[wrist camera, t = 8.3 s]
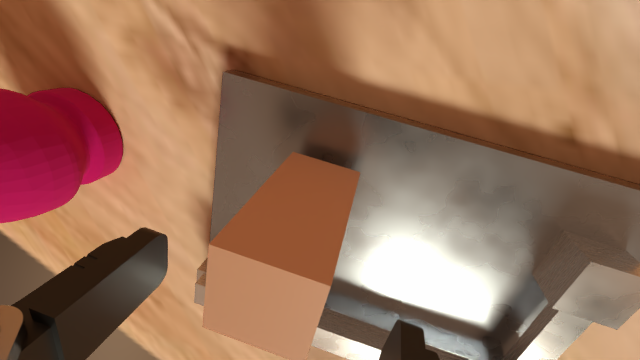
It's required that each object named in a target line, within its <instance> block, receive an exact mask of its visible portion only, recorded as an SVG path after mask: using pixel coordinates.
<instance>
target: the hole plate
mask: <svg viewBox="0 0 640 360" xmlns="http://www.w3.org/2000/svg"><path fill="white" fill-rule="evenodd" d="M292 152H296V153H299V154H302V155H305V156H309V157H312V158H315V159H319V160H322V161H325V162H328V163H332V164H335V165H338V166H341V167H345V168H348V169H351V170H355V171H358V172H360V176H359V180H358V184H357V188H356V192H355V195H354V199H353V203H352V207H351V211H350V215H349V219H348V223H347V227H346V230H345V234H344V238H343V242H342V246H341V250H340V254H339V258H338V261H337V265H336V269H335V273H334V277H333V281H332V285H331V288H330V291H329V294H328V297H327V300H326V303H325V306H324V309H323V312H322V315H321V318H320V320H319V323H318V326H317V329H316V332H315V335H314V338H313V341H312V344H311V346H314V347H316V348H319V349H322V350H324V351H327V352H330V353H333V354H335V355H338V356H341V357H343V358H346V359H349V360H379V357H380V353H381V350H382V348H383V346H384V344H385V342H386V340H387V338H388V336H389V334H390V332H391V330H392V328H393V326H394V324H395V322H396V321H397V320H398V319H399V320H402V321H405V322H408V323H411V324H413V325H416V326H419V327H422V328H423V330H424V337H425V348H426V349H428V350H431V351H434V352H436V353H437V354H438V357H439V359H440V360H557V359H558V358H559V356H560V355H561V354H562V353H563V352H564V351H565V350H566V349H567V348H568V347H569V346H570V345H571V344H572V343H573V342H574V341H575V340H576V339H577V338H578V337H579V336H580V335H581V334H582V333H583V332H584V330H585V329H586V328H587V327H588V326H589V325H590V324H591V323H592V322H595V323H598V324H601V325H604V326H607V327H611V328H614V329H618V328H619V327H621V326H622V325H623V324H624V323H625V322H626V321H627V320H628V319H629V318H630V317H631V316H632V315H633V314H634V313H635V312H636V311H637V310H638V309H639V308H640V185H638V184H635V183H631V182H628V181H624V180H621V179H617V178H614V177H610V176H607V175H603V174H600V173H596V172H593V171H589V170H586V169H582V168H578V167H575V166H571V165H568V164H564V163H561V162H557V161H554V160H550V159H547V158H543V157H540V156H536V155H533V154H529V153H526V152H522V151H519V150H515V149H511V148H508V147H504V146H501V145H497V144H494V143H490V142H487V141H483V140H480V139H476V138H473V137H469V136H466V135H462V134H459V133H455V132H452V131H448V130H445V129H441V128H437V127H434V126H430V125H427V124H423V123H420V122H416V121H413V120H409V119H406V118H402V117H399V116H395V115H392V114H388V113H385V112H381V111H378V110H374V109H370V108H367V107H363V106H360V105H356V104H353V103H349V102H346V101H342V100H339V99H335V98H332V97H328V96H325V95H321V94H318V93H314V92H311V91H307V90H303V89H300V88H296V87H293V86H289V85H286V84H282V83H279V82H275V81H272V80H268V79H265V78H261V77H258V76H254V75H251V74H247V73H244V72H240V71H236V70H230V71H224V72H223V78H222V91H221V104H220V117H219V129H218V142H217V155H216V168H215V181H214V193H213V206H212V219H211V232H210V242H211V241H212V240H213V239H214V238H215V237H216V236H217V235H218V233H219V232H220V231H221V230H222V229H223V228H224V227H225V226H226V225H227V224H228V223H229V221H230V220H231V219H232V218H233V217H234V216H235V215H236V214H237V213H238V212H239V210H240V209H241V208H242V207H243V206H244V205H245V204H246V203H247V202H248V201H249V199H250V198H251V197H252V196H253V195H254V194H255V193H256V192H257V191H258V190H259V188H260V187H261V186H262V185H263V184H264V183H265V182H266V181H267V180H268V179H269V178H270V176H271V175H272V174H273V173H274V172H275V171H276V170H277V169H278V168H279V167H280V165H281V164H282V163H283V162H284V161H285V160H286V159H287V158H288V157H289V156H290V154H291V153H292ZM207 260H208V257H207V259H206V260H205V261H204V262H203V263H202V264H201V266H200V267H199V268H198V269H197V282H196V283H195V299H194V303H197V304H200V305H202V306H204V299H205V286H206V273H207Z"/></svg>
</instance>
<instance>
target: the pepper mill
mask: <svg viewBox="0 0 640 360" xmlns="http://www.w3.org/2000/svg"><path fill="white" fill-rule="evenodd" d="M122 155H123V143H122V138H121V135H120V132H119V129H118V127H117V125H116V123H115V122H114V120H113V118H112V117H111V115H110V114H109V113H108V111H107V110H106V109H105V108H104V107H103V106H102V105H101V104H100V103H99V102H98V101H96V100H95V99H94V98H92V97H91V96H90V95H88V94H86V93H84V92H81V91H79V90H77V89H73V88H57V89H50V90H42V91H37V92H33V93H31V94H29V95H28V96H25V95H23V94H21V93H17V92H14V91H10V90H6V89H0V223H6V222H13V221H18V220H22V219H26V218H30V217H34V216H37V215H40V214H43V213H46V212H48V211H51V210H53V209H56V208H58V207H60V206H62V205H64V204H66V203H67V202H68V201H70V200H71V199H72V198H73V197H74V195H75V194H76V193H77V191H78V189H79V187H80V184H89V183H91V182H94V181H96V180H98V179H100V178H102V177H104V176H107V175H109V174H111V173H113V172H114V171H115V170H116V169H117V168H118V166H119V164H120V162H121V159H122Z"/></svg>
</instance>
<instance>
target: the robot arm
mask: <svg viewBox="0 0 640 360" xmlns="http://www.w3.org/2000/svg"><path fill="white" fill-rule="evenodd" d="M167 267H168V239H167V236H166V235H165V234H162V233H159V232H156V231H154V230H151V229H148V228H140V229H139V230H137V231H136V232H134V233H133V234H132V235H130V236H129V237H127V238H125V237H120V238H117V239H115V240H112V241H109V242H107V243H104V244H102V245H101V246H99V247H98V248H96V249H95V250H93V251H92V252H90V253H89V254H88V255H87V257H85V256H84V257H83V258H82V259H80V260H79V261H77V262H76V263H75V264H74V265H73V266H70V267H68V268H67V269H65V270H64V271H62V272H61V273H59V274H58V275H56V276H55V277H54V278H52V279H50V280H49V281H48V282H46V283H45V284H43V285H42V286H40V287H39V288H37V289H36V290H34V291H33V292H31V293H30V294H28V295H27V296H25V297H24V298H23V299H21V300H20V301H18V302H16V303H15V304H13V305H11V306H8V305H0V360H85V359H86V358H88V357H89V356H90V355H91V354H92V353H93V352H94V351H95V349H97V348H98V346H100V345H101V343H103V341H104V340H105V339H106V338H107V337H108V336H109V335H110V334H111V333H112V332H113V331H114V330H115V329H116V328H117V327H118V326H119V325H120V324H121V323H122V322H123V321H124V320H125V319H126V318H127V317H128V316H129V315H130V314H131V313H132V312H133V311H134V310H135V309H136V308H137V307H138V306H139V305H140V304H141V303H142V302H143V301H144V300H145V299H146V298H147V297H148V296H149V295H150V294H151V293H152V292H153V291H154V290H155V289H156V288H157V287H158V286H159V285H160V284H161V282H162V281H163V279H164V277H165V275H166V272H167ZM379 360H440V359H439V357H438V354H437V353H436V352H434V351H431V350H428V349H426V348H425V337H424V330H423V328H422V327H419V326H416V325H413V324H411V323H408V322H405V321H402V320H399V319H398V320H397V321H396V322H395V324H394V326H393V328H392V330H391V332H390V334H389V336H388V338H387V340H386V342H385V344H384V346H383V348H382V350H381V353H380V357H379Z"/></svg>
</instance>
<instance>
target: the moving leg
mask: <svg viewBox="0 0 640 360" xmlns="http://www.w3.org/2000/svg"><path fill="white" fill-rule="evenodd" d="M359 176H360V172H358V171H355V170H351V169H348V168H345V167H341V166H338V165H335V164H332V163H328V162H325V161H322V160H319V159H315V158H312V157H309V156H305V155H302V154H299V153H296V152H292V153H291V154H290V156H289V157H288V158H287V159H286V160H285V161H284V162H283V163H282V164H281V165H280V167H279V168H278V169H277V170H276V171H275V172H274V173H273V174H272V175H271V176H270V178H269V179H268V180H267V181H266V182H265V183H264V184H263V185H262V186H261V187H260V188H259V190H258V191H257V192H256V193H255V194H254V195H253V196H252V197H251V198H250V199H249V201H248V202H247V203H246V204H245V205H244V206H243V207H242V208H241V209H240V210H239V212H238V213H237V214H236V215H235V216H234V217H233V218H232V219H231V220H230V221H229V223H228V224H227V225H226V226H225V227H224V228H223V229H222V230H221V231H220V232H219V233H218V235H217V236H216V237H215V238H214V239H213V240H212V241H211V242H210V243H209V247H208V260H207V273H206V286H205V299H204V313H203V326H202V327H204V328H206V329H209V330H212V331H214V332H217V333H220V334H222V335H225V336H228V337H230V338H233V339H236V340H238V341H241V342H244V343H246V344H249V345H252V346H254V347H257V348H260V349H262V350H265V351H268V352H270V353H273V354H275V355H278V356H281V357H283V358H286V359H289V360H306V359H307V356H308V353H309V350H310V347H311V344H312V341H313V338H314V335H315V332H316V329H317V326H318V323H319V320H320V318H321V315H322V312H323V309H324V306H325V303H326V300H327V297H328V294H329V291H330V288H331V285H332V281H333V277H334V273H335V269H336V265H337V261H338V258H339V254H340V250H341V246H342V242H343V238H344V234H345V230H346V227H347V223H348V219H349V215H350V211H351V207H352V203H353V199H354V195H355V192H356V188H357V184H358V180H359Z"/></svg>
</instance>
